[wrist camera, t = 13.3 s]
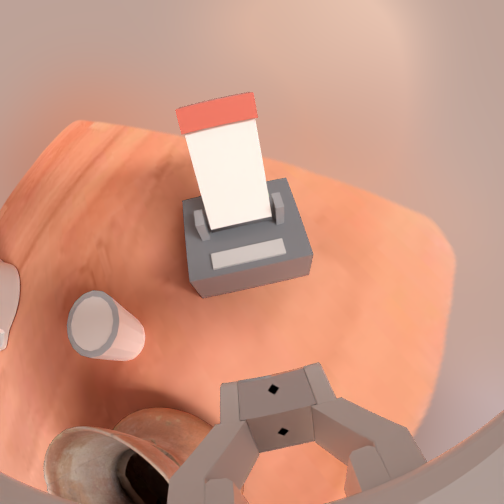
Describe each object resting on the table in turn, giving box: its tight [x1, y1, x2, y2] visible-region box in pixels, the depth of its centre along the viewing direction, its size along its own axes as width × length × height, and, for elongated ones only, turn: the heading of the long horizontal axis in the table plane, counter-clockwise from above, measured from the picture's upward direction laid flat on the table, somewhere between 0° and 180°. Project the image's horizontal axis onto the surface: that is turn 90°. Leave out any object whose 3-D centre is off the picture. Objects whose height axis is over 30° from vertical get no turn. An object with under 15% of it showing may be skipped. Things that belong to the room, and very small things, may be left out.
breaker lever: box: [176, 92, 272, 233], centre depth 24 cm, size 3×6×13 cm, turn 101°
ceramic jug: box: [44, 407, 244, 504], centre depth 16 cm, size 18×14×14 cm
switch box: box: [182, 178, 313, 298], centre depth 30 cm, size 10×12×8 cm
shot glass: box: [67, 290, 145, 361], centre depth 26 cm, size 7×7×7 cm
